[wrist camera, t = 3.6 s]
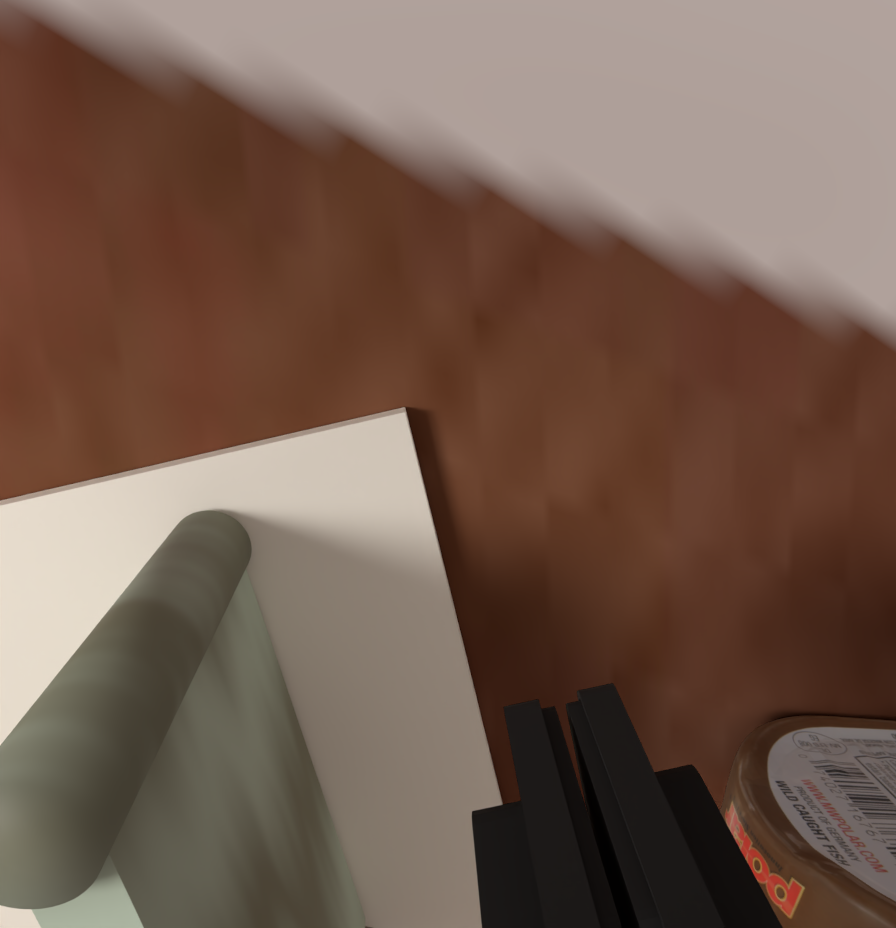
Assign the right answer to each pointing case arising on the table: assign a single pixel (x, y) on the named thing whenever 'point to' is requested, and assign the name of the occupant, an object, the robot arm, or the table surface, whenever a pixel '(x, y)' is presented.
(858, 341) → the table surface
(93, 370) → the table surface
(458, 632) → the card
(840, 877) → the tin
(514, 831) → the robot arm
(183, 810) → the swing panel
